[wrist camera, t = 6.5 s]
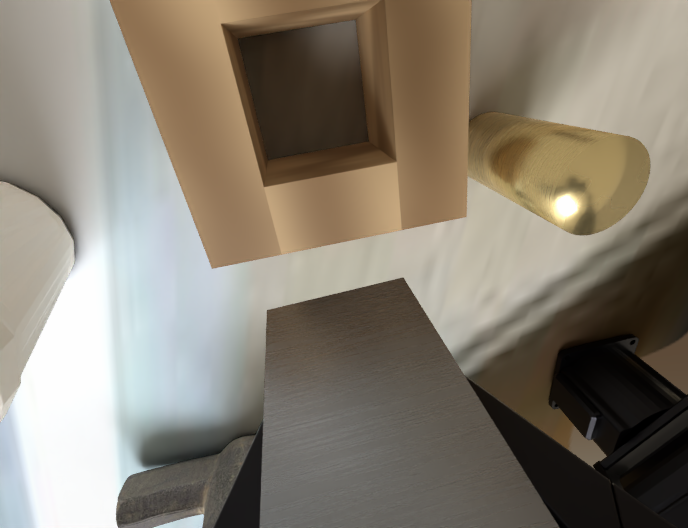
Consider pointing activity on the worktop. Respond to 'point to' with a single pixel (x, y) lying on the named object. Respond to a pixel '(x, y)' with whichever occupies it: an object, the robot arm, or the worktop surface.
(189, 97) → the socket block
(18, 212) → the cup
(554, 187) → the round dowel
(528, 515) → the square bit
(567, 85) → the worktop surface
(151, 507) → the pipe
